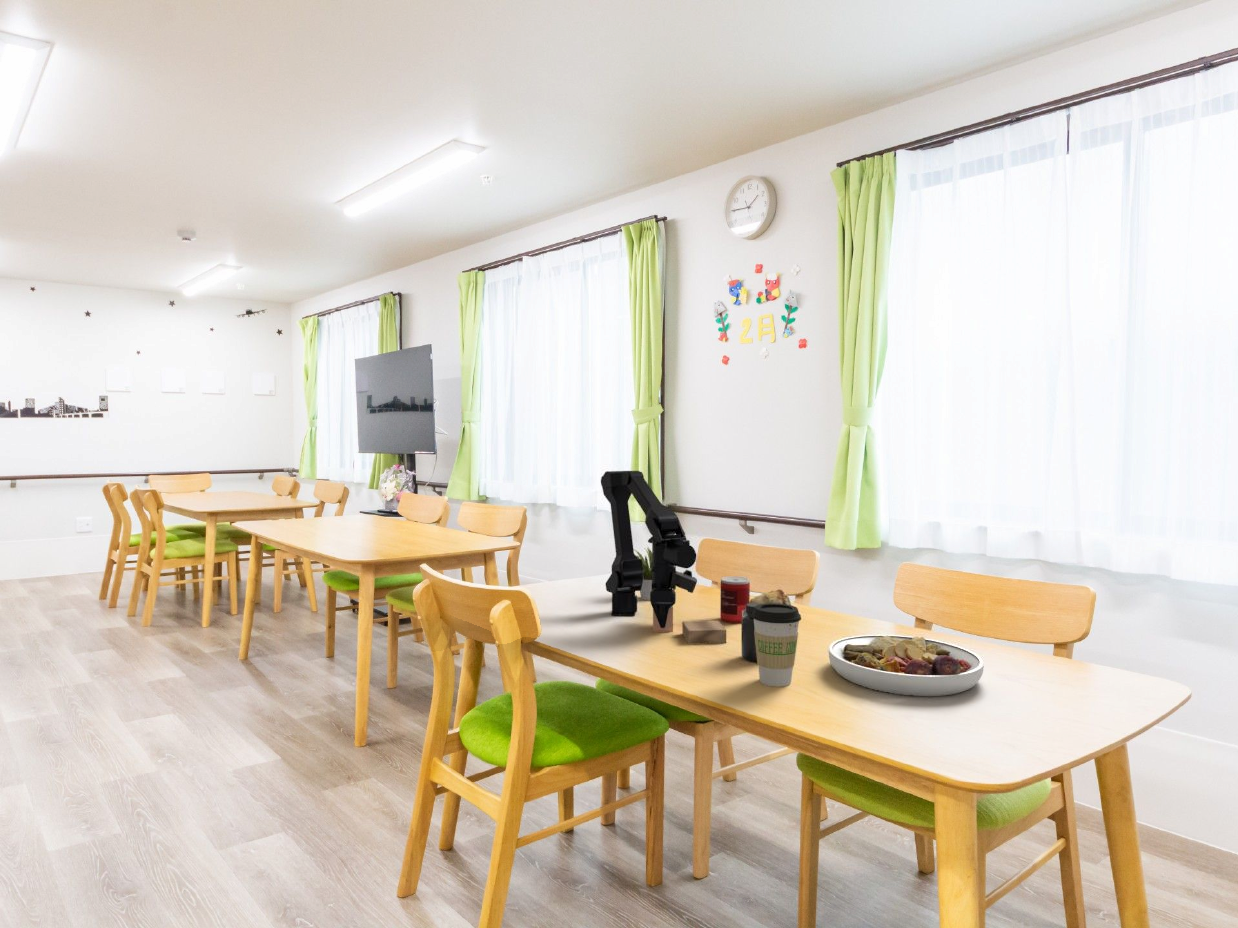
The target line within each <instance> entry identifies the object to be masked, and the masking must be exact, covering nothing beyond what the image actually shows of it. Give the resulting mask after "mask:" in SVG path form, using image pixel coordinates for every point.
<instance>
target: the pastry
mask: <svg viewBox="0 0 1238 928" xmlns="http://www.w3.org/2000/svg"><path fill="white" fill-rule="evenodd" d="M790 600H791V599H790V597H789V596H788V595H787V594H786V593H785V592H784V591H783V589H777V590H770V591H767V592H765V593H762V594H759V595H756V596H754V597H753V598H751V599H750V601H749V603H763V604H766V603H778V604H787V605H792V603H791V601H790Z"/></svg>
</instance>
